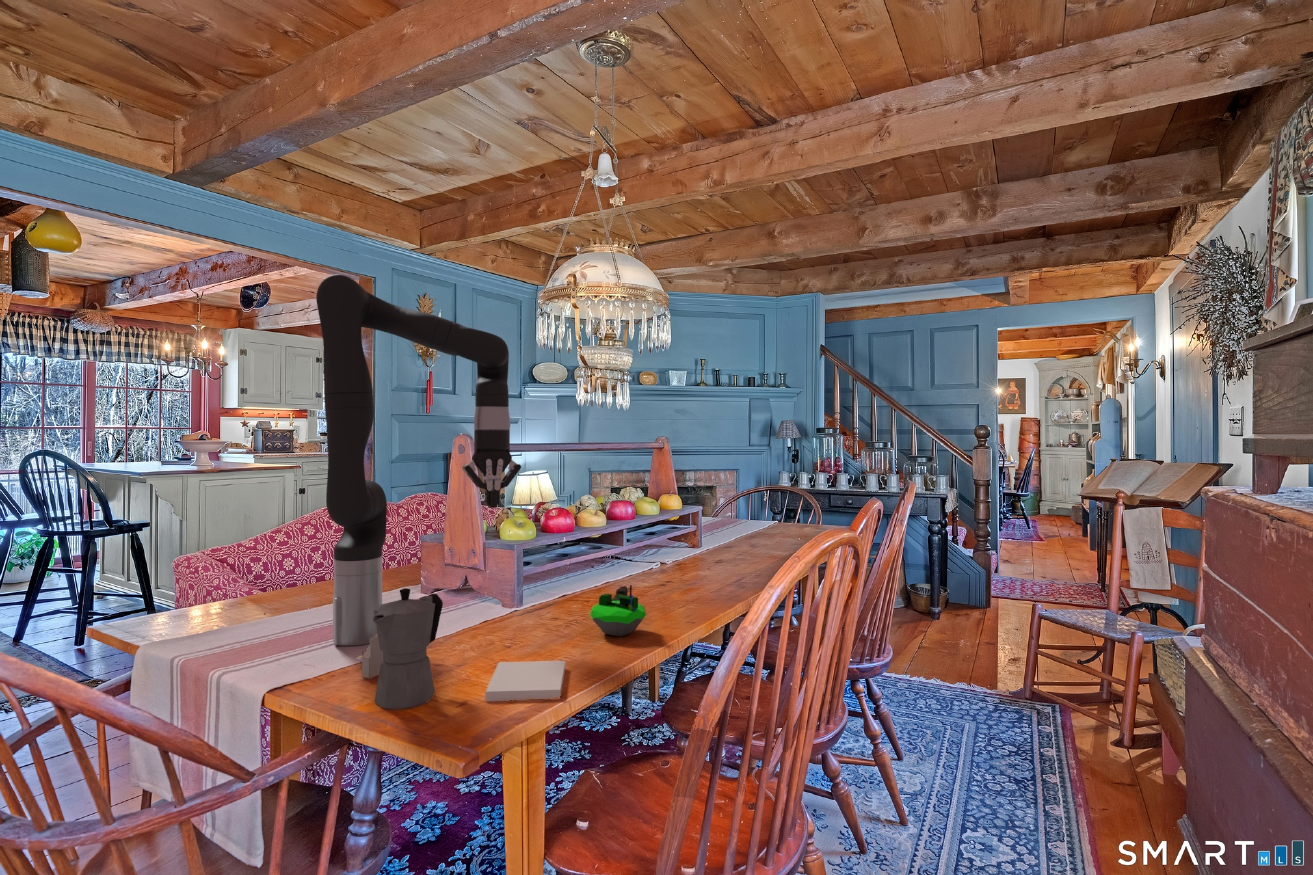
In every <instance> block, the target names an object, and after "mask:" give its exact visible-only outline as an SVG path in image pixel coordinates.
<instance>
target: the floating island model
mask: <svg viewBox="0 0 1313 875" xmlns="http://www.w3.org/2000/svg"><path fill="white" fill-rule="evenodd" d="M632 592H633V591H632V584H631V585H629V595H627V596H626V595H619V596H616V598H620V601H612V599H613V593H612V594H611V593H603V594H601V595H600V596H599V597H598V604H593V606H592V607H591V611H590V612H589V614H590V617H591V619H592V620H593V622H594V623H595V625H597V626H598V628H599V629H600V630H601V631H602V632H603V633H604V634H606V635H610V636H617V637H624V636H626V635H628V634H630V633H632V632H634V631H636V630H637V628H638V627H639V626H640V624H641V623H642V621H643V620H644V619H645V617H646V616H647V613H646V610H645V606H644V605H642V604H639V597H637V596H634V595H632Z"/></svg>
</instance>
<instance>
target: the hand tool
mask: <svg viewBox="0 0 1313 875" xmlns="http://www.w3.org/2000/svg"><path fill="white" fill-rule="evenodd" d="M628 591H629V590H628V587H627V586H626V585H624V586H619V588H617V589H616V591H615V595H614V596H613V597H612V601H620V598H616V596H619V595H626V596H628Z"/></svg>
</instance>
